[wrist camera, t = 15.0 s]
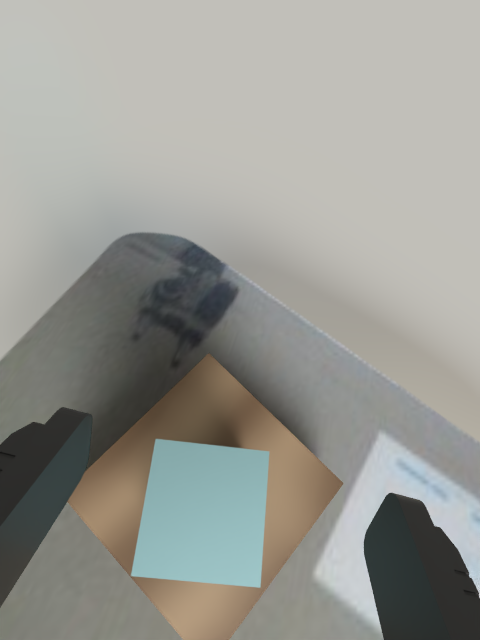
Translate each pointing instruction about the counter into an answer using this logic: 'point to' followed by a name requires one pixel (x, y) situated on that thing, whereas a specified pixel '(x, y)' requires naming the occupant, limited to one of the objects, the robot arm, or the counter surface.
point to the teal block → (203, 514)
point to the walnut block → (212, 429)
